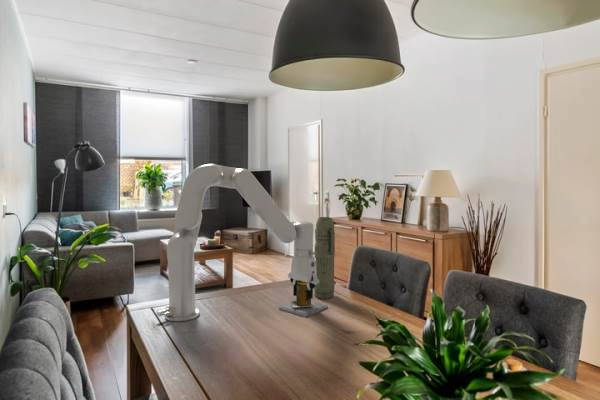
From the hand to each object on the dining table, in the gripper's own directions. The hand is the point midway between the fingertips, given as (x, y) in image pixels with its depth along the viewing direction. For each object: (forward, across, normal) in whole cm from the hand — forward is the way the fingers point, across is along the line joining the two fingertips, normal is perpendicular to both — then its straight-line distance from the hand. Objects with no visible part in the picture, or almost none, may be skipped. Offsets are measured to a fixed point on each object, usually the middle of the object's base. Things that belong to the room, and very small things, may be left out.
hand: (302, 296), depth 154 cm
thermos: (+5, +3, -18) cm, 19 cm away
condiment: (+3, +1, 0) cm, 4 cm away
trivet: (+5, 0, 0) cm, 5 cm away
